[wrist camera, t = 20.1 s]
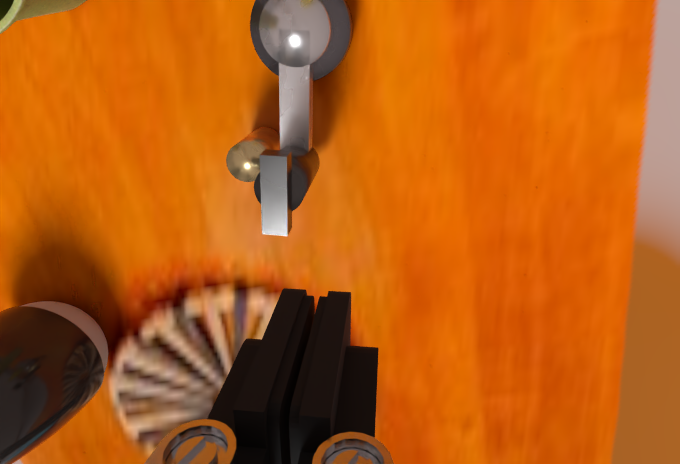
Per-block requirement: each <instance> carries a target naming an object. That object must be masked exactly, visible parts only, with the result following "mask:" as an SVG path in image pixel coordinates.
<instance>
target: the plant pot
mask: <svg viewBox="0 0 680 464" xmlns="http://www.w3.org/2000/svg"><path fill="white" fill-rule="evenodd" d="M85 1H87V0H0V34H1V33H2V32H4V31H5V30H6V29H7V28H9V27H10V26H11V25H12V24H13V23H14V22H16V21H18V20H22V19H27V18H32V17H36V16H41V15H46V14H52V13H57V12H63V11H68V10H72V9H74V8H76V7H78V6H79V5H81V4H82V3H84V2H85Z"/></svg>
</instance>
